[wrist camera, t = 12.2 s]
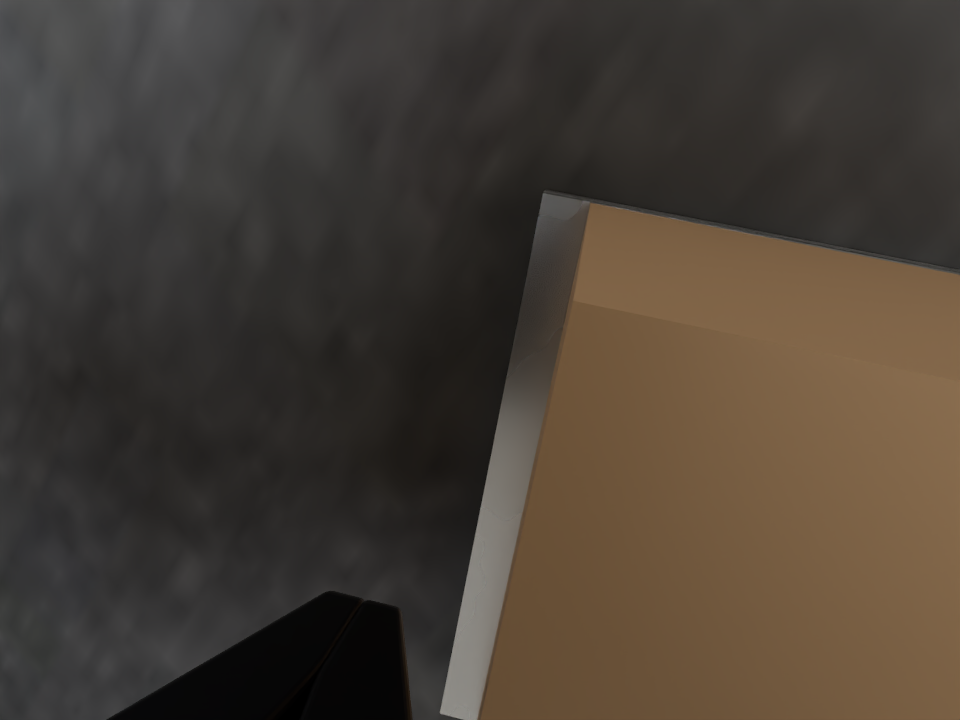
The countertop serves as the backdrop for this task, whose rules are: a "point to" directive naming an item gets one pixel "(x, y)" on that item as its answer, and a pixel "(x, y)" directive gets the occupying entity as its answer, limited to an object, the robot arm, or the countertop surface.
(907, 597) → the tan block
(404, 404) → the countertop surface
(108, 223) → the countertop surface
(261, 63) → the countertop surface
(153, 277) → the countertop surface
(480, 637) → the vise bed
